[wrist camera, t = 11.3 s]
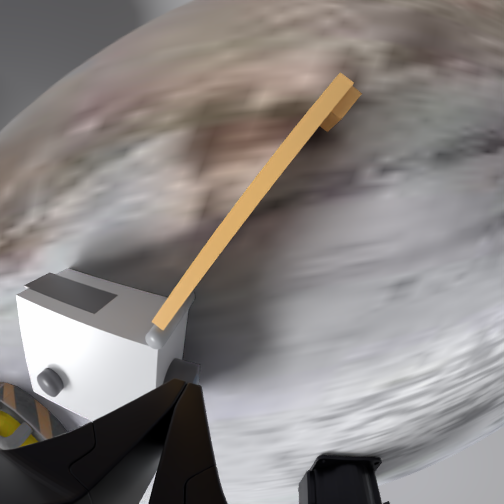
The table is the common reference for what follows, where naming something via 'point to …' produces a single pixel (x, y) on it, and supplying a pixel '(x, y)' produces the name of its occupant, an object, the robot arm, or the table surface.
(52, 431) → the cage light
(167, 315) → the side door
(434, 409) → the table surface
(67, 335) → the block
